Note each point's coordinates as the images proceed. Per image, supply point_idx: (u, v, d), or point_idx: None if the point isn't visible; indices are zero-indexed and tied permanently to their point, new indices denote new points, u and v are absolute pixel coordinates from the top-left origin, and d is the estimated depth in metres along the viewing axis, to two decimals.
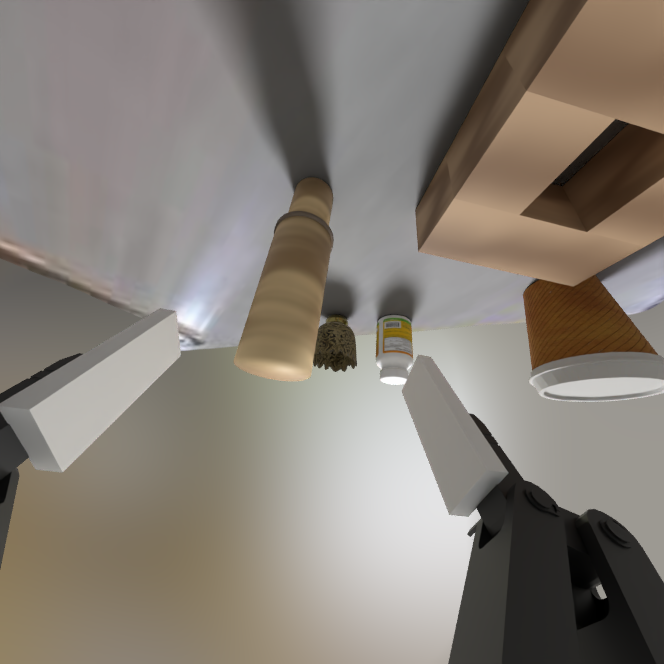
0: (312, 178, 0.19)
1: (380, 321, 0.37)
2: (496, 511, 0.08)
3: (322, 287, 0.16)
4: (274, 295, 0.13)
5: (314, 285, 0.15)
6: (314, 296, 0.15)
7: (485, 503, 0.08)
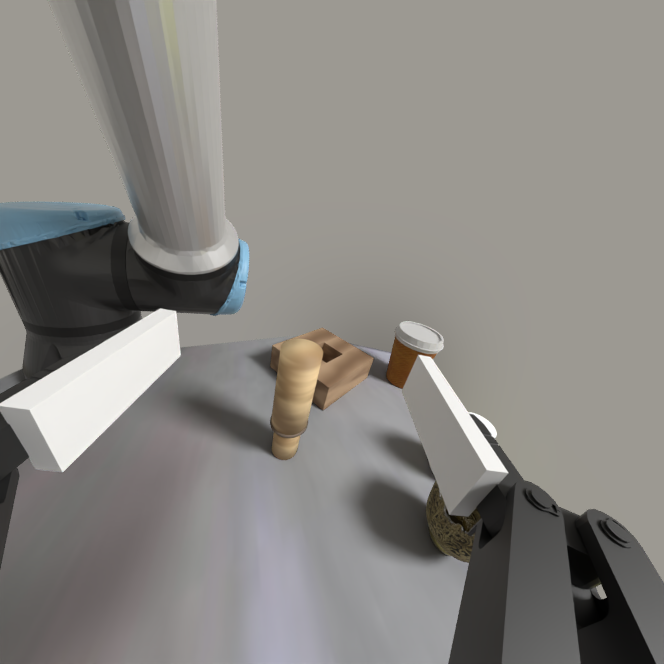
0: None
1: None
2: (496, 511, 0.08)
3: None
4: None
5: None
6: None
7: (485, 503, 0.08)
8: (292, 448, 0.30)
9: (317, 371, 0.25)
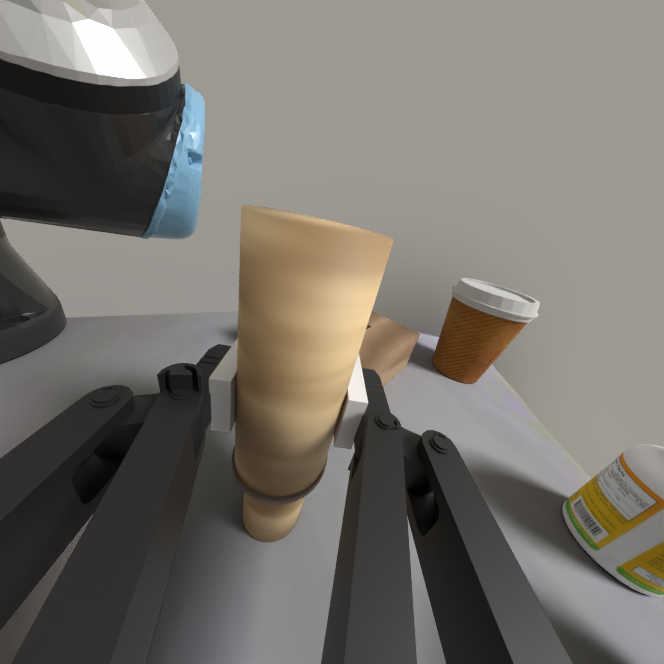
0: None
1: (607, 562, 0.15)
2: (360, 443, 0.09)
3: None
4: None
5: None
6: None
7: (357, 432, 0.09)
8: (289, 517, 0.12)
9: (373, 299, 0.07)
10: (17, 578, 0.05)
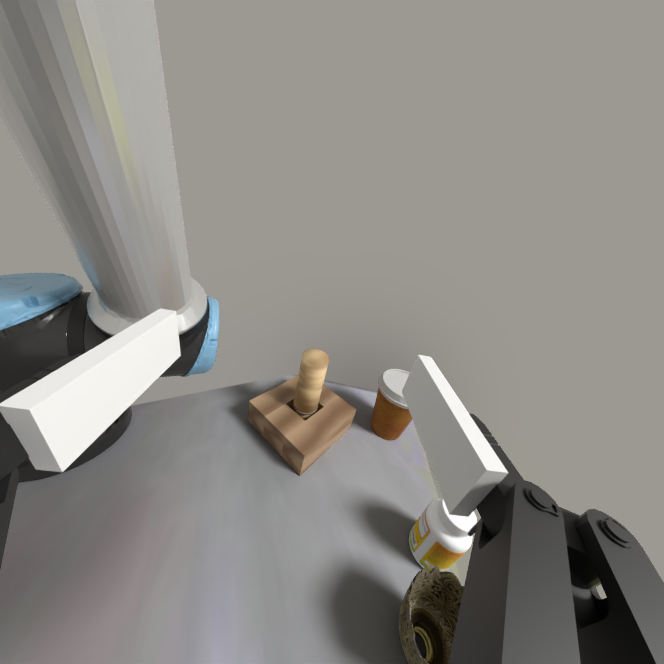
0: None
1: (417, 558, 0.30)
2: (496, 511, 0.08)
3: None
4: None
5: None
6: None
7: (485, 503, 0.08)
8: None
9: (325, 370, 0.38)
10: None
